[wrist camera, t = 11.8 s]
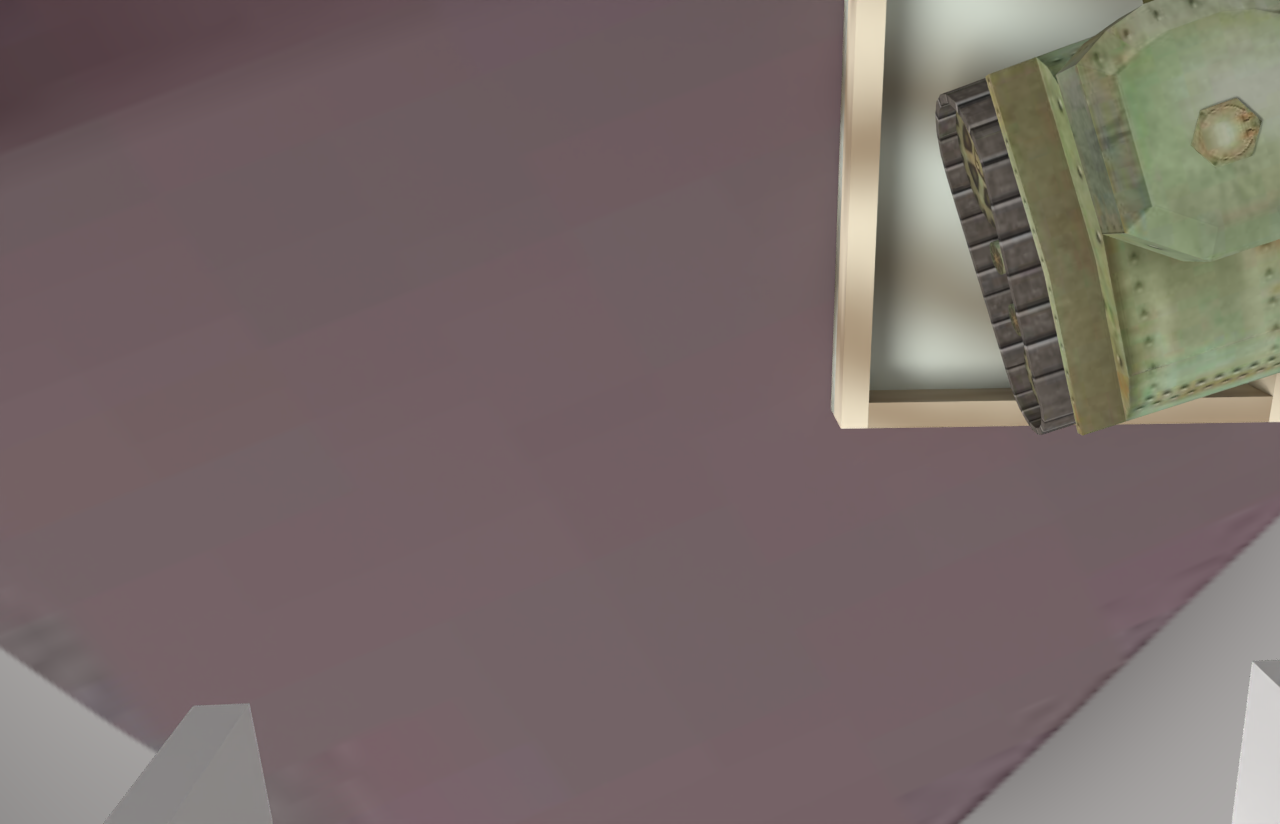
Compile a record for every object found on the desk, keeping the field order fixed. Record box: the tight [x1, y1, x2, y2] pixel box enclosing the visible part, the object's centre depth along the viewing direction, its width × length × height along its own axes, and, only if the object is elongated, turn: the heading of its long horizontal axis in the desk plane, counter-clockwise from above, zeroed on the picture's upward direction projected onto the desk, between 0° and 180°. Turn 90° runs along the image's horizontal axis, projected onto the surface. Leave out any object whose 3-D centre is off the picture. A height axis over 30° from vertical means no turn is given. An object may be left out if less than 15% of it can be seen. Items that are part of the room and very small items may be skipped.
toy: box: [935, 0, 1280, 435], centre depth 32 cm, size 10×18×10 cm, turn 20°
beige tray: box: [831, 0, 1280, 429], centre depth 37 cm, size 22×17×2 cm
